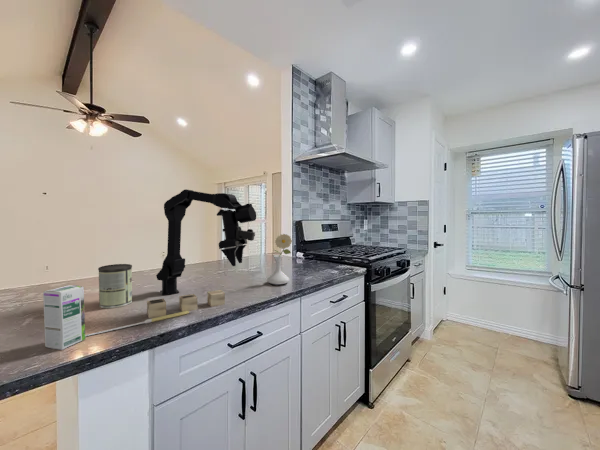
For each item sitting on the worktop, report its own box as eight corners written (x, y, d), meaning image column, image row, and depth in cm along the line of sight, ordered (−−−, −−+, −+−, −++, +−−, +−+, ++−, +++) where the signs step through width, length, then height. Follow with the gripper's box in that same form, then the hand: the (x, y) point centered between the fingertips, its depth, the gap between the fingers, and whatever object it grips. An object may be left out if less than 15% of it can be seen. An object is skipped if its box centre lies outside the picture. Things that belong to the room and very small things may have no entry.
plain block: (207, 303, 101) (207, 291, 101) (220, 301, 104) (220, 289, 104) (211, 307, 97) (211, 295, 97) (224, 304, 100) (224, 292, 100)
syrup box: (62, 350, 65) (61, 292, 64) (43, 347, 66) (42, 290, 66) (85, 340, 70) (85, 285, 70) (68, 337, 72) (67, 284, 71)
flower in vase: (262, 284, 129) (262, 233, 129) (273, 279, 140) (273, 232, 139) (286, 287, 124) (287, 234, 124) (296, 282, 135) (296, 233, 134)
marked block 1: (147, 314, 90) (147, 300, 89) (163, 311, 93) (163, 297, 92) (149, 318, 86) (148, 304, 85) (166, 315, 89) (166, 301, 88)
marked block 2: (179, 308, 95) (179, 295, 95) (193, 305, 98) (193, 293, 98) (182, 312, 91) (182, 299, 91) (197, 309, 94) (197, 296, 94)
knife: (59, 337, 72) (59, 339, 68) (185, 309, 93) (190, 310, 90) (59, 342, 71) (59, 345, 68) (186, 313, 93) (190, 314, 90)
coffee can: (96, 303, 99) (96, 266, 98) (128, 297, 106) (128, 262, 106) (101, 310, 92) (100, 270, 91) (135, 304, 99) (135, 266, 98)
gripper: (245, 221, 94) (252, 264, 94) (255, 222, 113) (261, 258, 113) (215, 226, 95) (222, 269, 94) (230, 226, 113) (236, 262, 113)
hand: (237, 264), depth 104 cm, fingers open, 9 cm apart
